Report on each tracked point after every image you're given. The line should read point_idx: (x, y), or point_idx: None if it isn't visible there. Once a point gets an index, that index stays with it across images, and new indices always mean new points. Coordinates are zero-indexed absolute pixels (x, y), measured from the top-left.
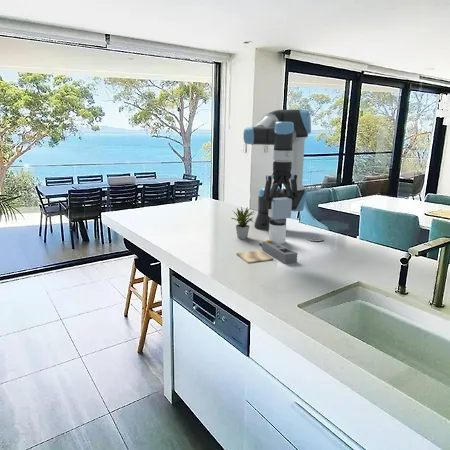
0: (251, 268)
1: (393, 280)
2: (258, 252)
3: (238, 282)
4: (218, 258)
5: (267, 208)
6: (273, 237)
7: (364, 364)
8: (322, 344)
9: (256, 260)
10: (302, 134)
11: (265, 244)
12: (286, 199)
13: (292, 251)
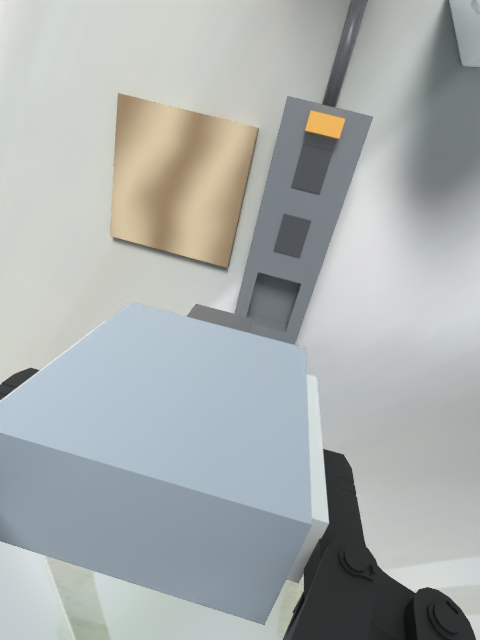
0: (98, 286)
1: (391, 567)
2: (225, 154)
3: (12, 347)
4: (20, 99)
5: (29, 369)
6: (473, 6)
7: (68, 600)
8: (48, 562)
9: (149, 244)
10: None
11: (276, 145)
12: (174, 594)
13: (290, 332)
